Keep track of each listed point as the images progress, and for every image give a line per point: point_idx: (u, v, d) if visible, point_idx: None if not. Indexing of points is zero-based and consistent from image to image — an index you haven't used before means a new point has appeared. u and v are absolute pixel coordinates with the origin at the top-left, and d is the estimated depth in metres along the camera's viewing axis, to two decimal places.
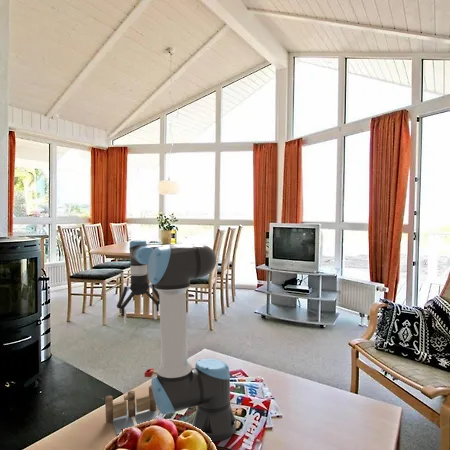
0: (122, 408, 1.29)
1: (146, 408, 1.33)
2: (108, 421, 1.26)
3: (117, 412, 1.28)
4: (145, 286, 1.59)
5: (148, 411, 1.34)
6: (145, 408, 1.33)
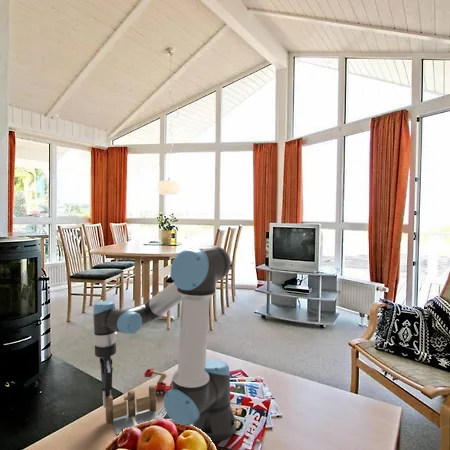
0: (122, 408, 1.29)
1: (146, 408, 1.33)
2: (108, 421, 1.26)
3: (117, 412, 1.28)
4: (104, 361, 1.27)
5: (148, 411, 1.34)
6: (145, 408, 1.33)
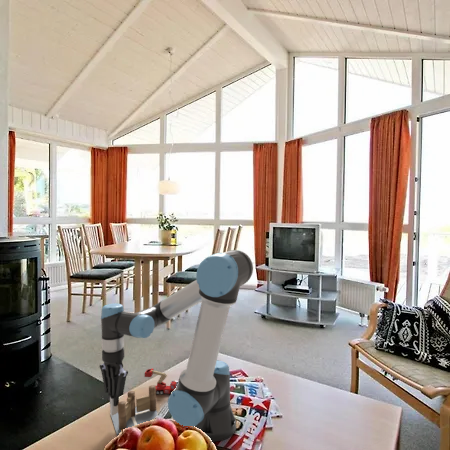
0: (129, 410, 1.28)
1: (146, 408, 1.33)
2: (124, 427, 1.23)
3: (127, 415, 1.26)
4: (116, 366, 1.21)
5: (148, 411, 1.34)
6: (145, 408, 1.33)
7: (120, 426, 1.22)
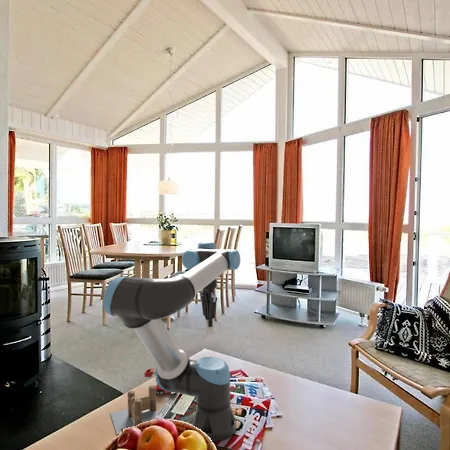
0: None
1: (146, 408, 1.33)
2: None
3: None
4: (208, 292, 1.45)
5: (148, 411, 1.34)
6: (145, 408, 1.33)
7: None
